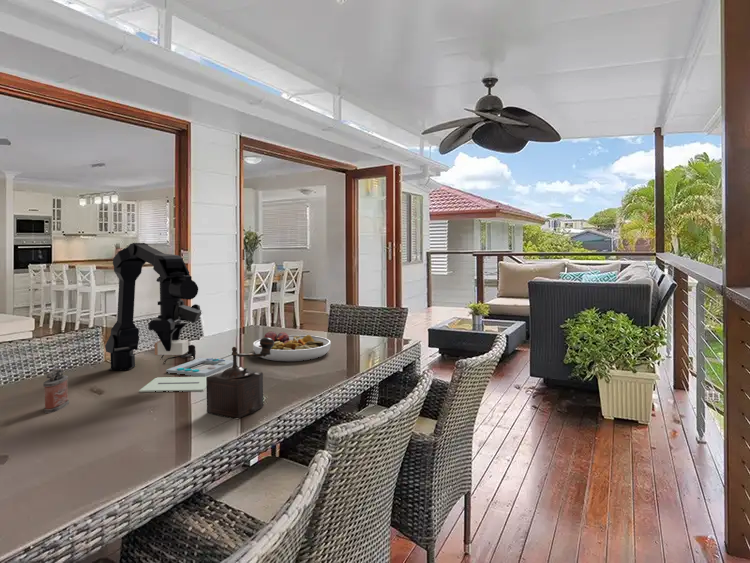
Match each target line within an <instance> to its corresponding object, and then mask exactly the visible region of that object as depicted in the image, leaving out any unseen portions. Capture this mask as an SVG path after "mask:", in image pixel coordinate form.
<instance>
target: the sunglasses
mask: <svg viewBox="0 0 750 563" xmlns="http://www.w3.org/2000/svg"><path fill="white" fill-rule="evenodd" d="M164 356H165V355H161V358H162V359H163V358H164ZM190 356H193V357H192V359H193V360H194V359H195V360H196V346H195V344H188V352H186V353H185V354H183V355H175V356H172V357H167V358H166V359H165V360H164V361H163V363H164V362H165V363H166V362H167V361H168V360H170V359H176V358H183V359H184V358H188V357H190ZM161 358H160V359H161ZM193 360H192V361H193Z"/></svg>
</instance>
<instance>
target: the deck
mask: <svg viewBox="0 0 750 563" xmlns="http://www.w3.org/2000/svg"><path fill="white" fill-rule="evenodd" d="M188 346H189V340H188V339H179V340H172V343H171V350H170V351H166V349H165V348H164V346H163V344H162V342H161V340H160V339H159V340H158V341H156V342H154V356H162V355H164V356H180V355H184V354H187V352H188Z"/></svg>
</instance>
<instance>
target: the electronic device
mask: <svg viewBox="0 0 750 563" xmlns="http://www.w3.org/2000/svg"><path fill="white" fill-rule="evenodd" d="M205 363H206V365H207V364H208V365H211V366H207V368H203V369H197V368H196V369H195V368H194V369H193V368H192V367H195V366H197V365H200V364H205ZM232 366H233V359H223V358H221V359H219V358H213V357H212V358H208V357H199V358H195V360H190V361H188V362H185V363H182V364H181V363H180V364H179V365H176V366H172V367H169V368H168V369H165V373H166V372H168V373H167V374H170V373H177V374H176V375H180V374H185V375H184V376H190V375H191V376H190V377H209V376H212V375H214V374H217V373H219V372H221V371H224V370H226V369H228V368H231V367H232Z"/></svg>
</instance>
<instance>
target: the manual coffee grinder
mask: <svg viewBox="0 0 750 563" xmlns="http://www.w3.org/2000/svg"><path fill="white" fill-rule="evenodd" d="M260 339H261V340H260V345H261V347H262V350H261V352H260V354H256V353H238V347H236V346H232V348H231V351H232V352H231V356H232V360H233V366H230V367H228V368H225V369H224V370H222V372H221V371H220V372H217V373H214V374H211V375H209V376H206V377H207V378H206V385H207V387H206V413H207V414H211V415H214V416H220V417H224V416H225V418H229V417H231V418H230V419H234V418H239V419H242V418H244V417H246V416H248V414H249V415H251V414H252V413H255V412H256V411H258V410H260V409H261V408H263V407H264V406H265V405H264V374H263V372H260V371H254V370H248V368H247V367H245V368H244V366H238V364H237V361H238V359H237V357H239V358H243V357H244V358H245V357H250V358H261V357H260V356H264V357H265V356H267V355H271V353H270V350H271V348H272V347H273V346H274V340H273V339H271V338H267V337H264V336H263V338H260ZM243 416H244V417H243ZM241 417H242V418H241Z"/></svg>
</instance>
